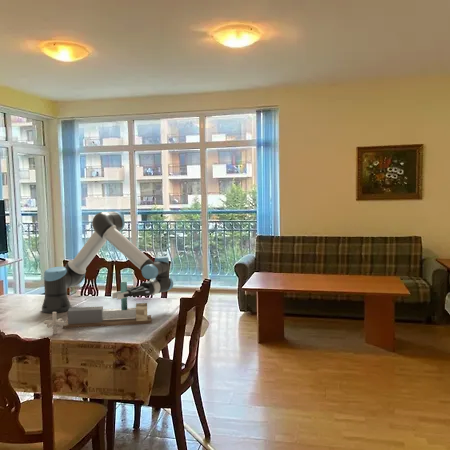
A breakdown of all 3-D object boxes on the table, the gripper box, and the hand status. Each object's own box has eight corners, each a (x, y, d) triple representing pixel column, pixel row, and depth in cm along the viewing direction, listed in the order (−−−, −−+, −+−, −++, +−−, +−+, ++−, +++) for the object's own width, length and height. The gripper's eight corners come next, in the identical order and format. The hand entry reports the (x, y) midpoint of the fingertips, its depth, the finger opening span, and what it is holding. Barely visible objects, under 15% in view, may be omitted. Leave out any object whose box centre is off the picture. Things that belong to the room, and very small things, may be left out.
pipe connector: (58, 337, 204) (58, 315, 203) (38, 336, 206) (38, 314, 205) (70, 331, 214) (70, 310, 213) (51, 329, 216) (50, 309, 215)
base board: (67, 321, 230) (67, 319, 230) (151, 317, 237) (151, 314, 237) (62, 328, 218) (62, 325, 218) (151, 323, 225) (151, 321, 225)
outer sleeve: (70, 320, 227) (69, 307, 227) (103, 318, 230) (102, 306, 230) (68, 324, 221) (67, 311, 221) (102, 322, 224) (101, 309, 223)
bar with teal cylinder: (89, 317, 228) (89, 283, 227) (138, 315, 232) (138, 281, 231) (89, 319, 224) (88, 284, 223) (138, 317, 228) (137, 282, 227)
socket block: (136, 316, 234) (136, 303, 234) (147, 315, 235) (147, 302, 235) (136, 321, 225) (135, 307, 225) (147, 320, 226) (147, 307, 226)
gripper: (160, 296, 238) (126, 305, 219) (139, 293, 247) (104, 301, 228) (160, 282, 238) (126, 290, 219) (138, 279, 247) (104, 286, 228)
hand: (115, 296), depth 224 cm, fingers closed on bar with teal cylinder, 3 cm apart
